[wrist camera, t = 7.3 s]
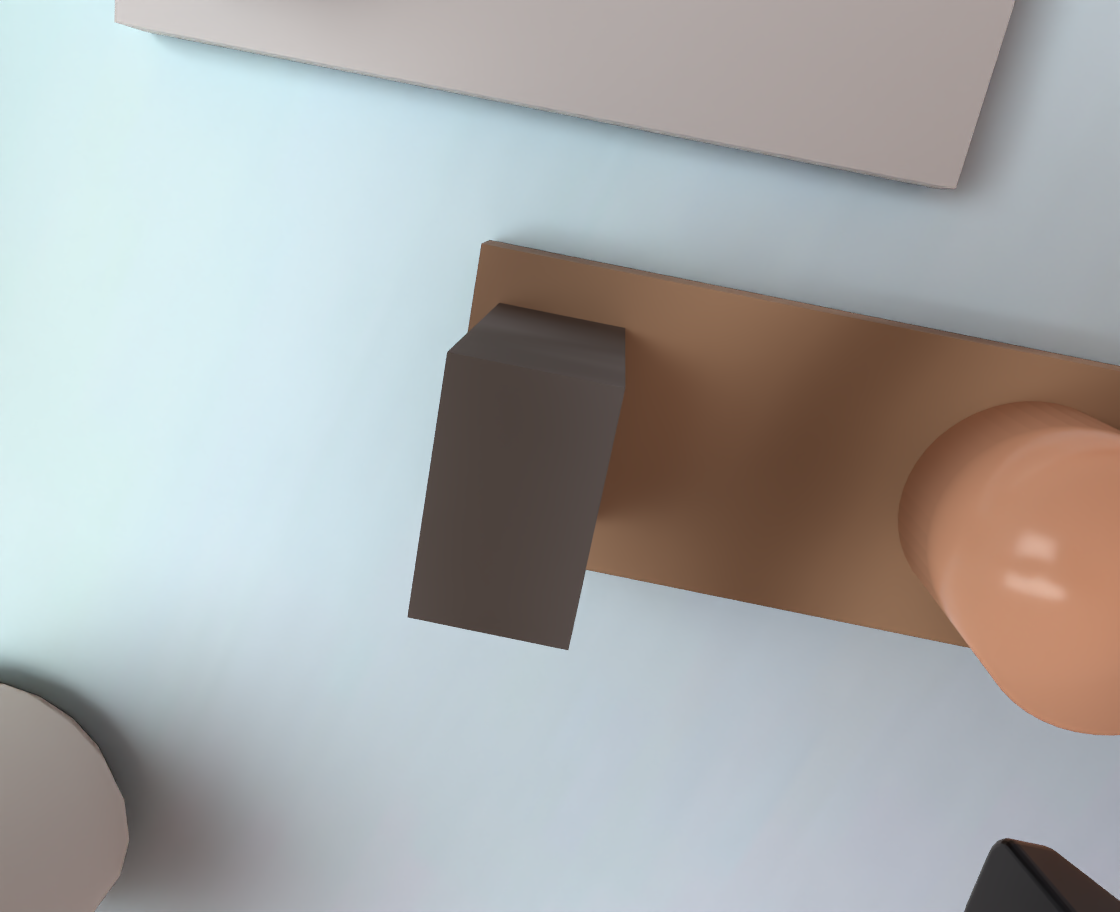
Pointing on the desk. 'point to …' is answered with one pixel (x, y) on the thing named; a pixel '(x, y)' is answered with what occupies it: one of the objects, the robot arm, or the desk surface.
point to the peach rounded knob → (1027, 554)
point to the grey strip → (662, 64)
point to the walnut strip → (694, 446)
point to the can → (55, 811)
